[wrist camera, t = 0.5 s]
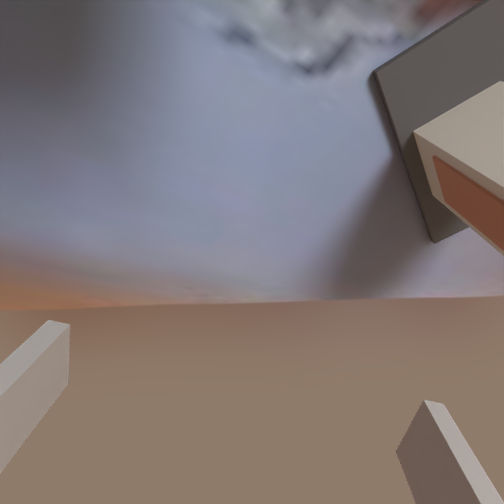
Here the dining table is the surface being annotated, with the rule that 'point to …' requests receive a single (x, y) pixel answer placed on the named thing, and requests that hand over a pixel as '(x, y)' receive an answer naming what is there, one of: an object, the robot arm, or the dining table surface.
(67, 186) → the dining table surface
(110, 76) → the dining table surface
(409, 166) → the charcoal mat
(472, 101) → the cream block
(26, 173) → the dining table surface
